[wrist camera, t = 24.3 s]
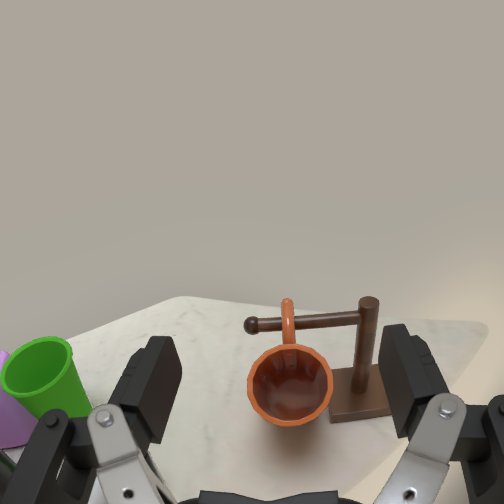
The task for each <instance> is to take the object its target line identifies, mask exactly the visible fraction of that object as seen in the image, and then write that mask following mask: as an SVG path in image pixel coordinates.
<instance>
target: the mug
mask: <svg viewBox="0 0 504 504" xmlns="http://www.w3.org/2000/svg"><path fill="white" fill-rule="evenodd" d="M281 316H282V339H283V344H282V345H278V346H276V347H274V348H272V349H269V350H267V351H265V352H264V353H263V354H262V355H261V356H260V357H259V358H258V359H257V360H256V361H255V362H254V364H253V365H252V368H251V370H250V373H249V375H248V377H247V378H248V379H247V394H248V398H249V400H250V402H251V404H252V407H253V409H254V410H255V411H256V412H257V413H258V414H259V415H260V416H261V417H263V418H264V419H265V420H266V421H268V422H271V423H274V424H276V425H279V426H283V427H284V426H300V425H303V424H305V423H307V422H309V421H311V420H313V419H315V418H317V417H318V416H319V415H320V413H321V412H322V411H323V410H324V409H325V408H326V407H327V406H328V404H329V401H330V398H331V395H332V393H333V389H334V388H333V374H332V371H331V369H330V367H329V365H328V364H327V362H326V360H325V358H323V357H322V356H321V355H320V354H319V353H317V352H316V351H315V350H314V349H312V348H309V347H306V346H303V345H300V344H296V338H295V324H294V307H293V301H292V300H291V299H289V298H286V299H284V300H282V302H281Z"/></svg>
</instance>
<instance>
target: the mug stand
mask: <svg viewBox="0 0 504 504" xmlns="http://www.w3.org/2000/svg"><path fill="white" fill-rule="evenodd" d="M378 312H379V300H378V299H377V298H374V297H370V296H367V297H363V298H361V299H360V300H359V305H358V310H357V311H347V312H337V313H326V314H314V315H302V316H294V324H295V330H302V329H314V328H326V327H336V326H346V325H356V324H357V332H356V343H355V353H354V363H353V367H350V368H341V369H331V371H332V374H333V388H334V389H333V393H332V395H331V398H330V401H329V412H330V421H331V423H336V422H345V421H353V420H361V419H368V418H374V417H380V416H386V415H392V413H391V410H390V406H389V402H388V399H387V395H386V392H385V388H384V385H383V381H382V378H381V375H380V371H379V365H378V364H374V365H371V363H372V357H373V351H374V344H375V336H376V329H377V320H378ZM243 326H244V330H245V331H246V332H247V333H248V334H250V335H255V334H258V333H259V332H272V331H282V317H274V318H257V317H254V316H252V317H248V318H247V319H246V320H245V321H244V325H243Z"/></svg>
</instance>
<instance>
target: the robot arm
mask: <svg viewBox="0 0 504 504" xmlns="http://www.w3.org/2000/svg"><path fill="white" fill-rule="evenodd" d="M378 365H379V371H380V375H381V378H382V381H383V385H384V388H385V392H386V395H387V399H388V402H389V406H390V410H391V413H392V417H393V421H394V425H395V429H396V433H397V436H398V439H399V438H404V437H408V441H409V444H408V446H407V448H406V450H405V452H404V453H403V455H402V457H401V459H400V461H399V462H398V464H397V466H396V468H395V469H394V471H393V473H392V474H391V476H390V478H389V479H388V481H387V483H386V484H385V486H384V487H383V489H382V491H381V492H380V494H379V495H378V497H377V498H376V500H375V501H374V503H373V504H433V502H434V500H435V498H436V496H437V494H438V492H439V490H440V488H441V485H442V484H443V482H444V479H445V477H446V475H447V472H448V470H449V466H450V465H449V464H448V462H449V461H460V462H461V466H462V470H463V474H464V479H465V483H466V488H467V492H468V497H469V502H470V504H504V395H498V396H495V397H494V398H493V399H492V400H491V401H490V402H489V404H488V405H467V404H465V403H464V401H463V400H462V399H461V398H459V397H458V396H457V395H454V394H451V393H450V392H449V390H448V387H447V385H446V383H445V381H444V379H443V376H442V374H441V372H440V370H439V368H438V366H437V364H436V363H435V360H434V358H433V355H431V351H430V349H429V347H428V345H427V343H426V342H424V341H423V340H422V339H421V338H420V337H419V336H418V335H414V336H410V334H409V332H408V330H407V328H406V326H405V325H404V324H396V325H388V326H384V328H383V333H382V339H381V345H380V350H379V356H378ZM122 374H123V375H122V376H121V377H120V379H119V381H118V383H117V385H116V387H115V389H114V391H113V393H112V395H111V397H110V399H109V401H108V403H107V404H103V405H100V406H98V407H96V408H95V409H93V410H92V411H91V413H90V414H89V416H85V417H74V418H70V417H69V416H68V415H67V413H66V412H65V411H64V410H62V409H51V410H48V411H47V412H45V413H44V414H43V415H42V416H41V417H40V419H39V421H38V423H37V425H36V427H35V429H34V430H33V432H32V434H31V436H30V438H29V440H28V442H27V444H26V446H25V449H24V451H23V453H22V455H21V457H20V459H19V461H18V463H17V464H16V463H15V462H14V461H13V460H12V459H10V458H9V457H8V456H7V455H6V454H5V453H4V452H3V451H2V450H1V449H0V504H88V502H89V498H90V495H91V492H92V489H93V486H94V483H95V480H96V477H97V478H98V481H99V484H100V487H101V490H102V493H103V495H104V498H105V501H106V503H107V504H362V503H360V502H357V501H353V500H350V499H345V498H339V497H338V490H335V491H325V492H312V493H302V494H298V495H294V496H290V497H286V498H282V499H277V500H273V501H262V500H258V499H254V498H250V497H246V496H242V495H238V494H235V493H226V492H213V491H203V490H200V495H199V498H193V499H188V500H185V501H182V502H179V503H178V502H177V501H176V499H175V498H174V496H173V495H172V493H171V492H170V491H169V489H168V487H167V486H166V484H165V482H164V480H163V478H162V476H161V474H160V473H159V471H158V469H157V467H156V465H155V463H154V461H153V459H152V457H151V455H150V453H149V451H148V447H149V444H150V443H156V444H161V441H162V437H163V434H164V431H165V428H166V425H167V422H168V418H169V415H170V412H171V409H172V406H173V403H174V400H175V397H176V394H177V391H178V387H179V384H180V381H181V378H182V366H181V362H180V359H179V357H178V354H177V351H176V348H175V345H174V342H173V339H172V337H170V336H152V337H151V338H150V339H149V341H148V343H147V345H146V347H145V348H140V349H139V350H138V351H137V352H136V353H135V354H133V355H132V356H131V358H130V360H129V362H128V364H127V366H126V368H125V370H124V372H123V373H122ZM63 458H64V459H65V460H64V463H63V465H62V468H61V470H60V473H59V475H58V478H57V480H56V477H57V473H58V470H59V468H60V465H61V463H62V461H63Z"/></svg>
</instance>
